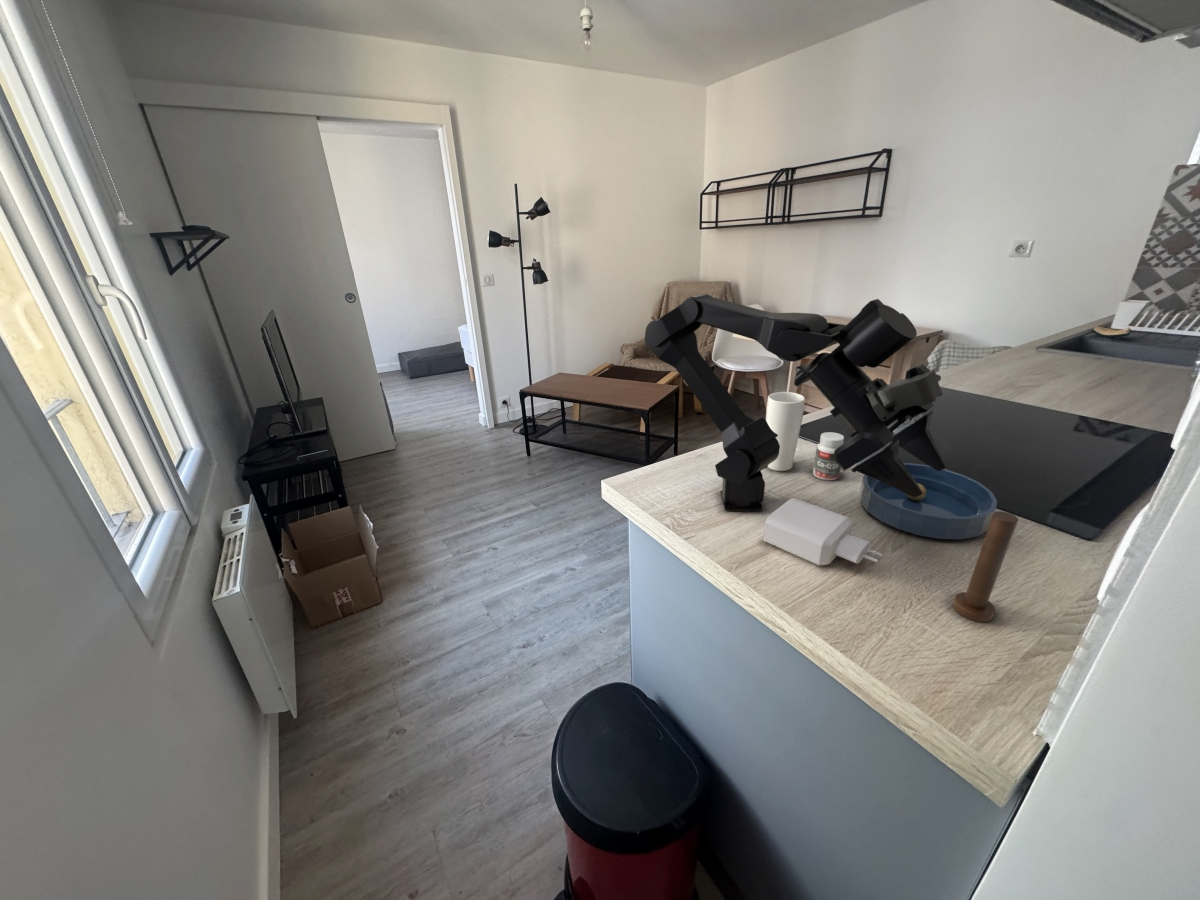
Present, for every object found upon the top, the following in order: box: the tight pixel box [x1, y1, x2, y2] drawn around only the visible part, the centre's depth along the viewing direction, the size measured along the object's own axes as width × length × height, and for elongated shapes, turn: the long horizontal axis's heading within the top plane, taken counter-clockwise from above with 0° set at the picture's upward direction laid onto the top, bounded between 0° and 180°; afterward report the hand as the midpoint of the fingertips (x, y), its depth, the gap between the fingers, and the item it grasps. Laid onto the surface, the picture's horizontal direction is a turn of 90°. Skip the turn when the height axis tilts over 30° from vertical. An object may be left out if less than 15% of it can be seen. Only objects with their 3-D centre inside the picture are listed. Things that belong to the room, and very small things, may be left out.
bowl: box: [859, 462, 998, 540], centre depth 78 cm, size 18×18×4 cm
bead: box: [905, 483, 926, 501], centre depth 80 cm, size 3×3×3 cm
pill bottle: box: [812, 431, 845, 481], centre depth 90 cm, size 5×5×8 cm
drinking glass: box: [765, 391, 806, 472], centre depth 93 cm, size 7×7×15 cm
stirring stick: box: [952, 510, 1019, 623], centre depth 56 cm, size 4×4×14 cm
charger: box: [763, 497, 884, 566], centre depth 70 cm, size 5×9×15 cm
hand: (931, 481), depth 60 cm, fingers open, 9 cm apart
